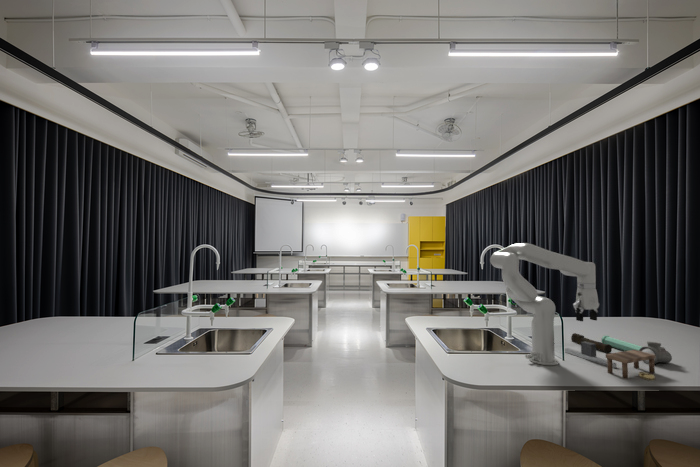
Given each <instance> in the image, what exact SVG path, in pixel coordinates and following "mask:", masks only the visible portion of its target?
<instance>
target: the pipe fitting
mask: <svg viewBox="0 0 700 467" xmlns="http://www.w3.org/2000/svg"><path fill="white" fill-rule="evenodd" d="M646 345H647V346H645V345H644V346H641V348H640V350H639V351H642V352H646V353H650V354H654V355H655V359H654V365H655V364H658V363H670V362H671V361H672V359H673V356H672V354H671V352H669V351H667V349H666V348H665V347H664V346H662V343H661V342H656V341H646ZM642 362H644V363H645V364H648V365H649V360H644V361H642Z"/></svg>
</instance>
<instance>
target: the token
mask: <svg viewBox="0 0 700 467" xmlns="http://www.w3.org/2000/svg"><path fill="white" fill-rule="evenodd" d="M638 377H639V378H641V379H642V380H647V381H655V380H656V379H655V378H656V376H655V374H654V373H650V372H649V371H639V372H638Z"/></svg>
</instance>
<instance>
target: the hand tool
mask: <svg viewBox="0 0 700 467" xmlns="http://www.w3.org/2000/svg"><path fill="white" fill-rule="evenodd" d="M570 338H571V339H570V340H571V342H573V343H574V344H575V343H576V345H580V346H581V342H584V341H587V342H590V343H594V344H596V350H598V351H600V352H604V353H605V354H611V352H612V350H613V347H612V346H611V345H609V344H604V343H602V341H601V342H600V341H597V340H594V339H593V340H592V339H589V338H587V337H585V336H584V335H582V334H579V333H576V332H574V333H572V335H571V337H570Z"/></svg>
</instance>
